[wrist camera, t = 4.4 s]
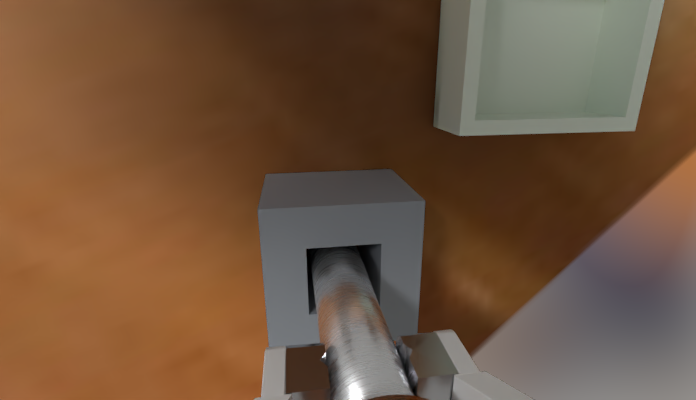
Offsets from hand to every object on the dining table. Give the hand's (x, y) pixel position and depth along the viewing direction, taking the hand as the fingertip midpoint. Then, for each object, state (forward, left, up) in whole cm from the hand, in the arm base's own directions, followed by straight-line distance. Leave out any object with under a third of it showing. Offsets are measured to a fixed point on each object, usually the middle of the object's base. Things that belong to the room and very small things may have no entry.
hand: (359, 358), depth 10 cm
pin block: (0, 0, -10) cm, 10 cm away
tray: (-9, +9, -10) cm, 16 cm away
